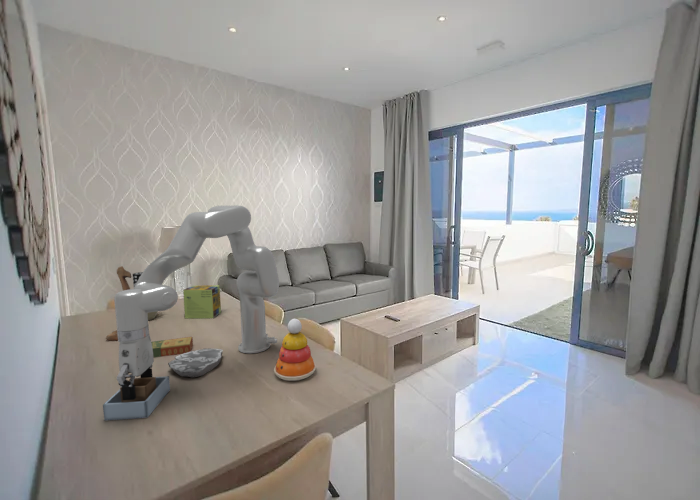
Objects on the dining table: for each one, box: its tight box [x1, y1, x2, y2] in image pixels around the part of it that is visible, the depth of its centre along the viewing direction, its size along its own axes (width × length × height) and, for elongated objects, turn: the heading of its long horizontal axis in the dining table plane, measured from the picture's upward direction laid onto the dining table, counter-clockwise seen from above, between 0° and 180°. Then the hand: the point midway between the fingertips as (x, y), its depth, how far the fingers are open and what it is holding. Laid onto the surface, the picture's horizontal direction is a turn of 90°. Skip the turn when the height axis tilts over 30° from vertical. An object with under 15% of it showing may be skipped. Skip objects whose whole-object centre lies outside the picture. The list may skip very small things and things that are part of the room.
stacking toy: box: [273, 318, 317, 382], centre depth 116 cm, size 14×14×20 cm
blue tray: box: [102, 375, 171, 421], centre depth 99 cm, size 11×14×4 cm
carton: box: [151, 336, 194, 358], centre depth 136 cm, size 8×16×4 cm, turn 109°
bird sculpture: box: [105, 265, 132, 342], centre depth 151 cm, size 11×12×32 cm
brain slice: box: [167, 348, 224, 378], centre depth 122 cm, size 20×17×3 cm
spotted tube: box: [132, 271, 143, 288], centre depth 199 cm, size 8×8×20 cm
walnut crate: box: [119, 376, 156, 403], centre depth 99 cm, size 7×6×6 cm
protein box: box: [182, 284, 222, 320], centre depth 181 cm, size 10×15×16 cm
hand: (138, 390), depth 98 cm, fingers open, 9 cm apart
